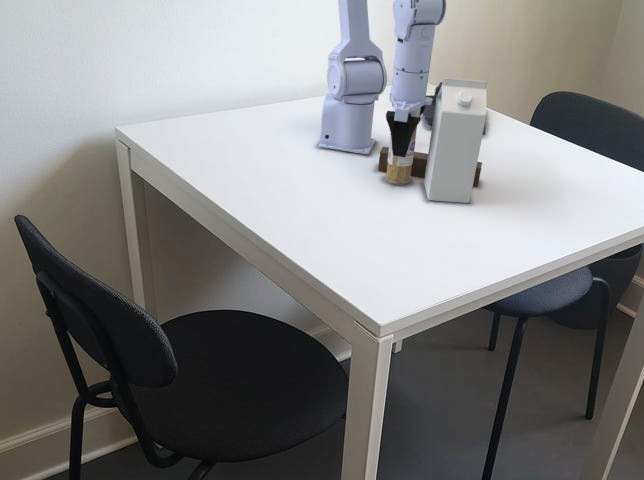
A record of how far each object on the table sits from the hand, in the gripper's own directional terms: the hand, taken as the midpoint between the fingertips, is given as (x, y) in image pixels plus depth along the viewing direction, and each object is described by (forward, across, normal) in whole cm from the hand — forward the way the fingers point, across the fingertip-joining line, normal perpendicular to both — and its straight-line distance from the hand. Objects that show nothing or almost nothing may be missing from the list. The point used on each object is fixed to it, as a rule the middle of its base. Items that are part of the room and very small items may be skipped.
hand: (401, 150), depth 123 cm
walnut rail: (+5, +4, -5) cm, 9 cm away
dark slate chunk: (+6, +39, -6) cm, 40 cm away
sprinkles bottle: (+6, 0, 0) cm, 6 cm away
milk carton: (+6, -2, -9) cm, 11 cm away
